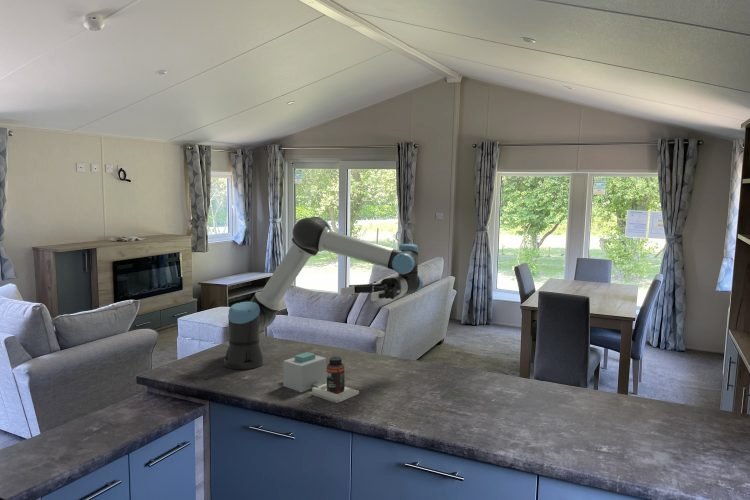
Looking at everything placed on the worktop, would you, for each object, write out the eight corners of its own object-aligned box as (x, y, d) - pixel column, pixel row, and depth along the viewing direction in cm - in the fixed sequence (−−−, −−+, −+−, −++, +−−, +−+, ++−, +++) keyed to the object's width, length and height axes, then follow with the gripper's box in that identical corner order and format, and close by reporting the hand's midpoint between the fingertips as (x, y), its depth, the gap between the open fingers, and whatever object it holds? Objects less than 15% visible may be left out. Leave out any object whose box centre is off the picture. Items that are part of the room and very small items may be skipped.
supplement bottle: (345, 388, 181) (346, 356, 180) (343, 395, 175) (343, 361, 174) (328, 387, 181) (328, 355, 180) (324, 394, 175) (325, 360, 174)
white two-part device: (275, 383, 188) (275, 354, 187) (300, 375, 197) (300, 346, 196) (335, 403, 170) (335, 371, 169) (359, 393, 179) (360, 362, 178)
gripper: (420, 301, 194) (385, 310, 177) (367, 293, 209) (329, 300, 193) (421, 280, 193) (385, 287, 177) (367, 274, 209) (330, 280, 192)
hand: (356, 294), depth 185 cm, fingers open, 13 cm apart
